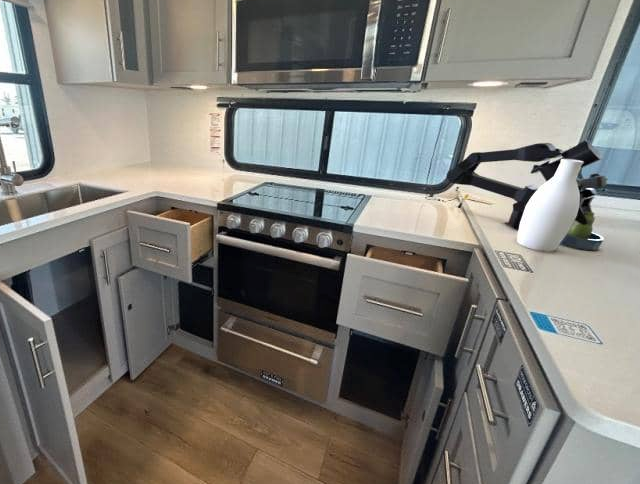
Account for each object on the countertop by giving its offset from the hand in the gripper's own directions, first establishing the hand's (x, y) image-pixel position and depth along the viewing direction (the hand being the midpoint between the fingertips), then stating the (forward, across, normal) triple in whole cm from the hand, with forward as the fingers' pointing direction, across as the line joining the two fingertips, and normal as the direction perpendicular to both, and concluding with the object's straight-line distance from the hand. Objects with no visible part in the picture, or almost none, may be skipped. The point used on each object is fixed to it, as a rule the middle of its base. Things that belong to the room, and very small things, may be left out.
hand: (588, 223), depth 98 cm
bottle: (+1, -14, +9) cm, 17 cm away
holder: (+4, 0, +6) cm, 7 cm away
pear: (+4, 0, +6) cm, 7 cm away
